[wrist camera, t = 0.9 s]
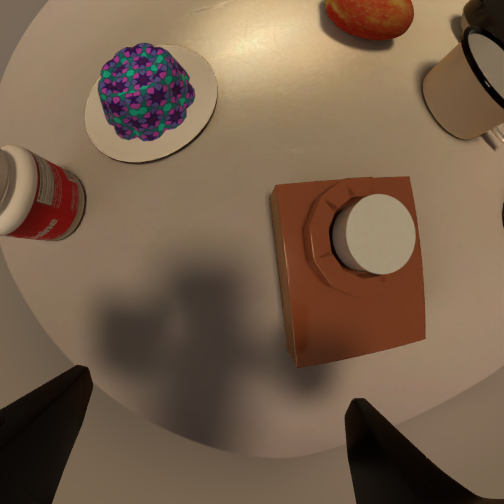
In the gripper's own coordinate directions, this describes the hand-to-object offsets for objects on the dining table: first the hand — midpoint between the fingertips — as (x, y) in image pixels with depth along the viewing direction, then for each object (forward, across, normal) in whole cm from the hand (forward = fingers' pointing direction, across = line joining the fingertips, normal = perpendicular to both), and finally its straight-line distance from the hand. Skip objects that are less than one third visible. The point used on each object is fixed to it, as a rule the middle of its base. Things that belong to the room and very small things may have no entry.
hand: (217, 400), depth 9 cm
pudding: (+20, +9, -10) cm, 24 cm away
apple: (+25, -9, -22) cm, 34 cm away
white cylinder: (+11, -8, -3) cm, 14 cm away
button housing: (+15, -8, +1) cm, 17 cm away
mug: (+22, -21, -15) cm, 34 cm away
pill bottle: (+16, +16, -1) cm, 23 cm away
